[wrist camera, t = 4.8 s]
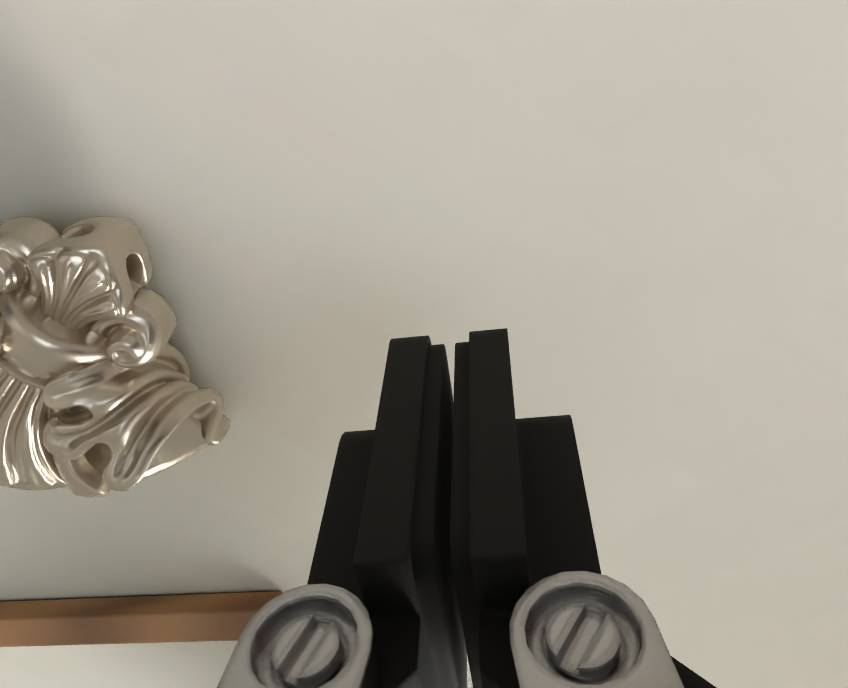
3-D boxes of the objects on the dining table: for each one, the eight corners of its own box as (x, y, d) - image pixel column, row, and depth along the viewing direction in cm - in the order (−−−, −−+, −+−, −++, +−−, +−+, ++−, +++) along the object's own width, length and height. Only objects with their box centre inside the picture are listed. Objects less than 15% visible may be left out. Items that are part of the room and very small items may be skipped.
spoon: (268, 555, 20) (261, 578, 19) (304, 649, 22) (299, 672, 22) (-262, 578, 22) (-285, 600, 22) (-178, 661, 25) (-197, 683, 24)
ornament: (319, 308, 15) (278, 415, 12) (174, 480, 19) (114, 599, 16) (-42, 63, 13) (-202, 120, 10) (-137, 309, 16) (-280, 408, 13)
